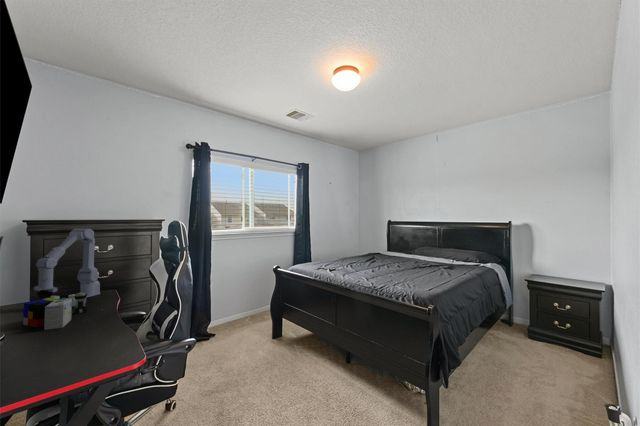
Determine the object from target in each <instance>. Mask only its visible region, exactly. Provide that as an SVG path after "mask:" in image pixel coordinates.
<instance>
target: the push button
mask: <svg viewBox="0 0 640 426" xmlns="http://www.w3.org/2000/svg"><path fill="white" fill-rule="evenodd" d="M75 294H76V295H75V296H74V297H75V299H76V306H74V308H73V311H71V314H74V315H75V314H81V313H86V312H87V306H86V303H85V298H86V296H87V294H85V293H80V292H77V293H75ZM86 299H87V298H86Z"/></svg>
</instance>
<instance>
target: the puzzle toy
mask: <svg viewBox="0 0 640 426" xmlns="http://www.w3.org/2000/svg"><path fill="white" fill-rule="evenodd" d="M54 300H62V298H60V299H57V298H46V299H41V300H40V299H38V300H32V301H29V302H24V303H23V317H22V321H23V322H22V325H24V326H29V327H33V328H34V327H35V328H40V327H42V326H43V327H44V324H45V306H47V305H49V304H50V303H52V302H53V301H54Z"/></svg>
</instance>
